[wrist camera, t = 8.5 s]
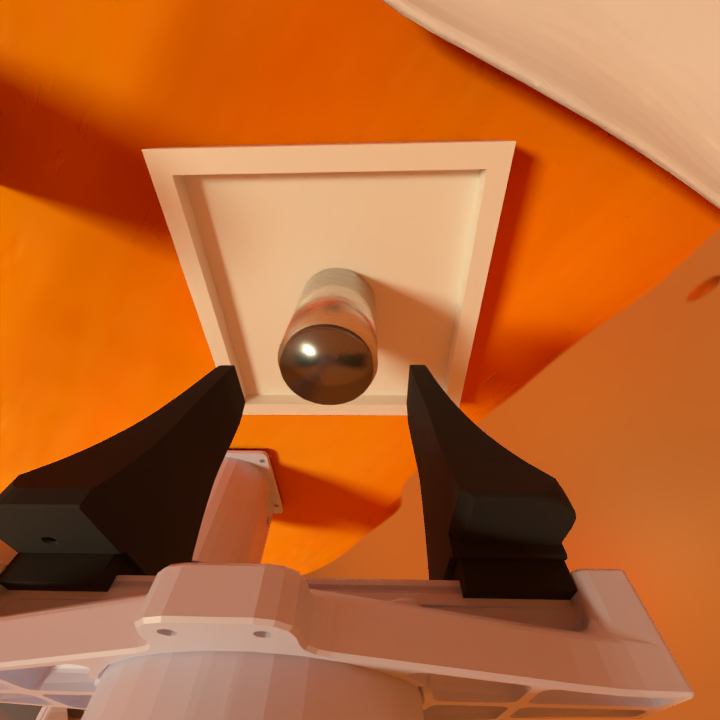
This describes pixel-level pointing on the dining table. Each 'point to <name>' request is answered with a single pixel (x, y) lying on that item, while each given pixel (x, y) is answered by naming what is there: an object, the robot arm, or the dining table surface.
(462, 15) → the salad plate
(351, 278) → the cylinder
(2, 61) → the dining table surface
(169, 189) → the tray
